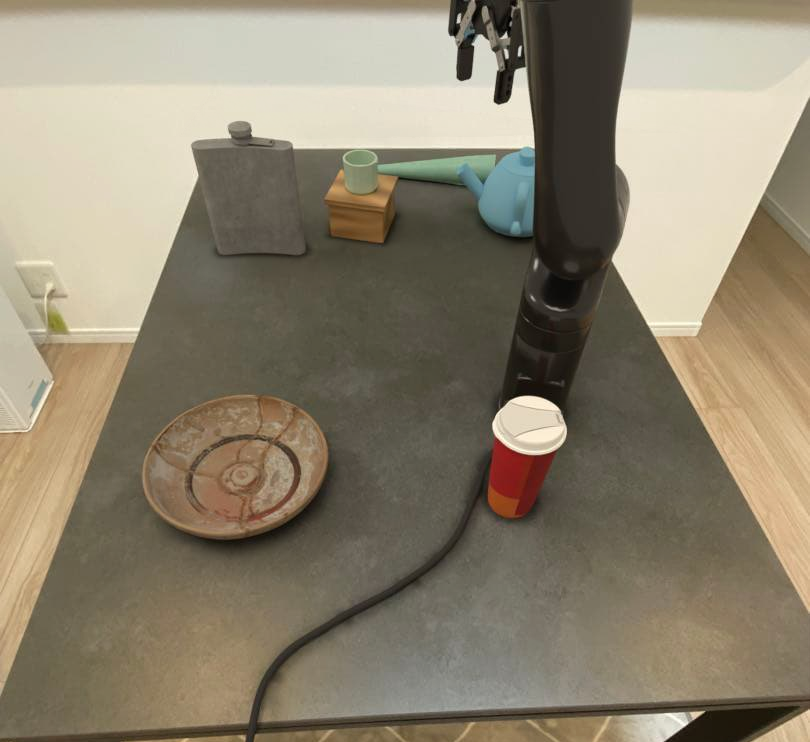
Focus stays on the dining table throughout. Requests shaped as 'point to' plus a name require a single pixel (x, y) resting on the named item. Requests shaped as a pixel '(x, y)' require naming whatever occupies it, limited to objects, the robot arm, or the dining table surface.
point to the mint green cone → (441, 169)
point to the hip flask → (250, 192)
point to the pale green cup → (360, 171)
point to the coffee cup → (523, 453)
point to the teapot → (506, 193)
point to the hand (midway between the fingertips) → (482, 90)
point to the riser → (362, 210)
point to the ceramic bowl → (235, 466)
